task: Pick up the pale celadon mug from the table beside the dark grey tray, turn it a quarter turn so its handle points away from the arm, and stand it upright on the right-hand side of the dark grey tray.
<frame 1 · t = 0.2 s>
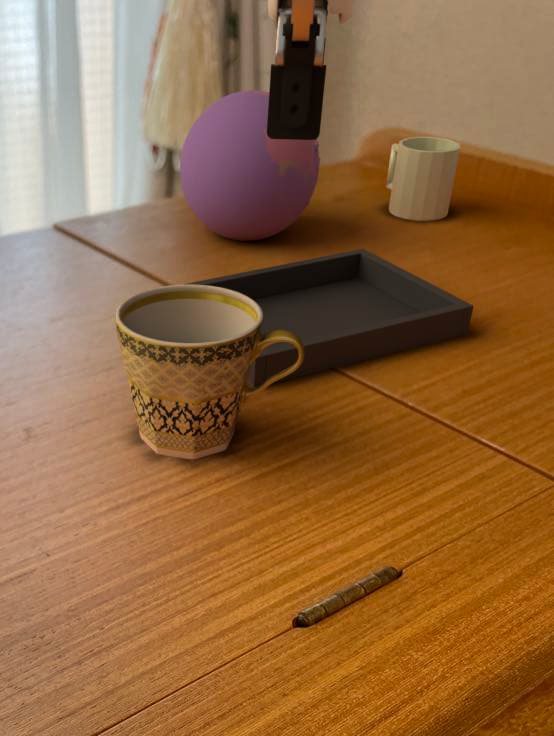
hand: (294, 119, 57), 20 cm above the table, tool pointing down, fingers open, 9 cm apart
dark grey tray: (312, 328, 80), on the table
ceramic cup: (206, 444, 64), on the table
decorative ball: (245, 238, 99), on the table
mug: (417, 215, 104), on the table
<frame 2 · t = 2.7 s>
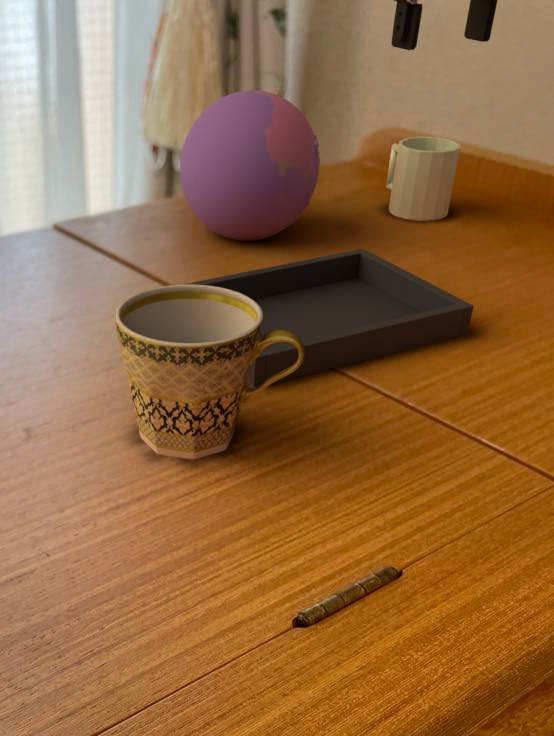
hand: (440, 43, 90), 18 cm above the table, tool pointing down, fingers open, 9 cm apart
nothing on the table moved.
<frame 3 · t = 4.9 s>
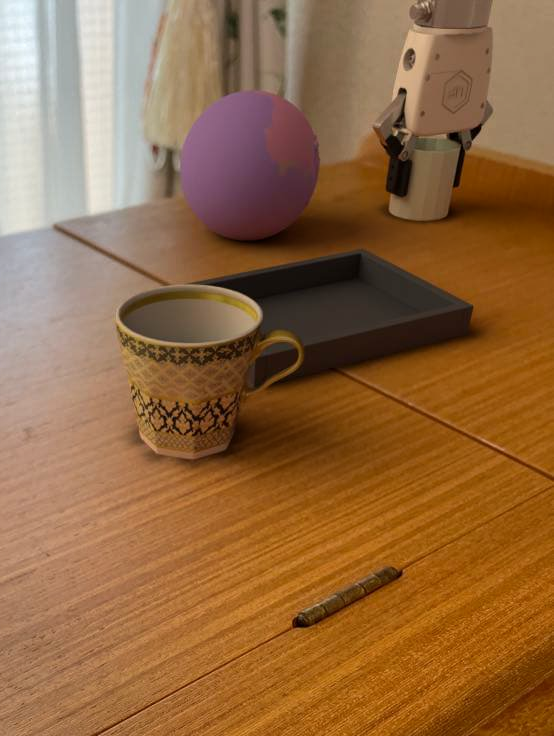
hand: (422, 188, 102), 3 cm above the table, tool pointing down, fingers closed on mug, 6 cm apart
mug: (417, 215, 104), on the table, touching gripper
everything else where it was.
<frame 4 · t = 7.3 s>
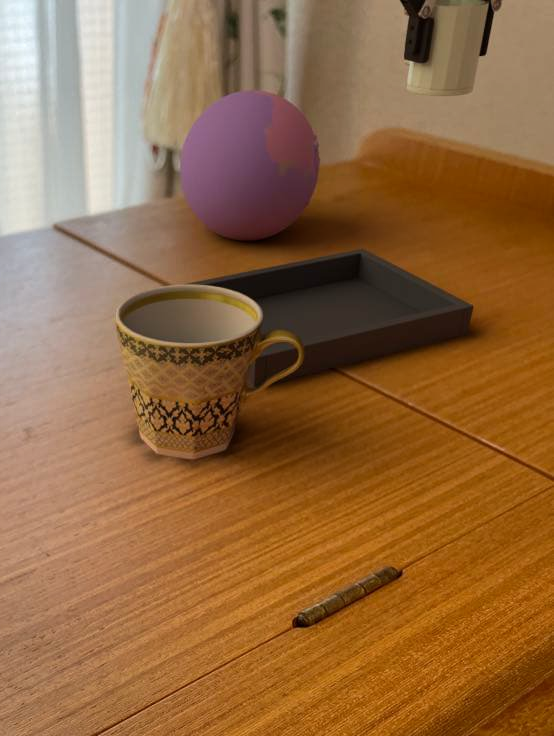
hand: (444, 56, 91), 17 cm above the table, tool pointing down, fingers closed on mug, 6 cm apart
mug: (439, 89, 93), point 14 cm above the table, touching gripper
everything else where it was.
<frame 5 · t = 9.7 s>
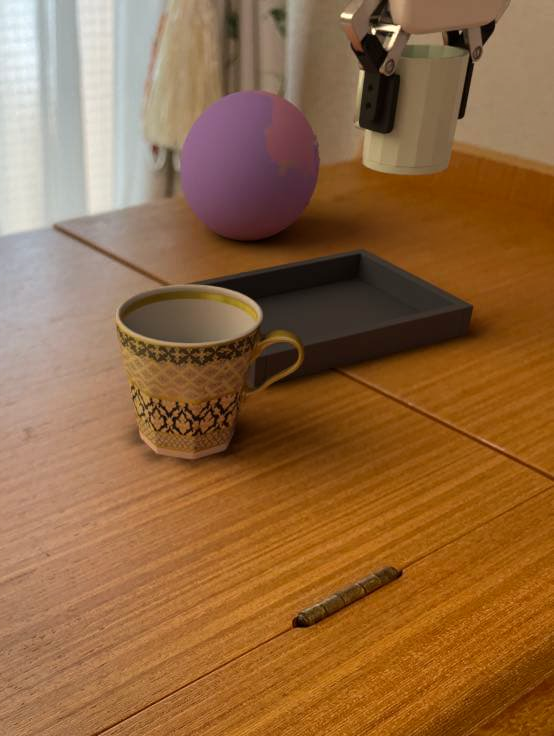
hand: (411, 121, 68), 18 cm above the table, tool pointing down, fingers closed on mug, 6 cm apart
mug: (404, 163, 70), point 14 cm above the table, touching gripper
everything else where it was.
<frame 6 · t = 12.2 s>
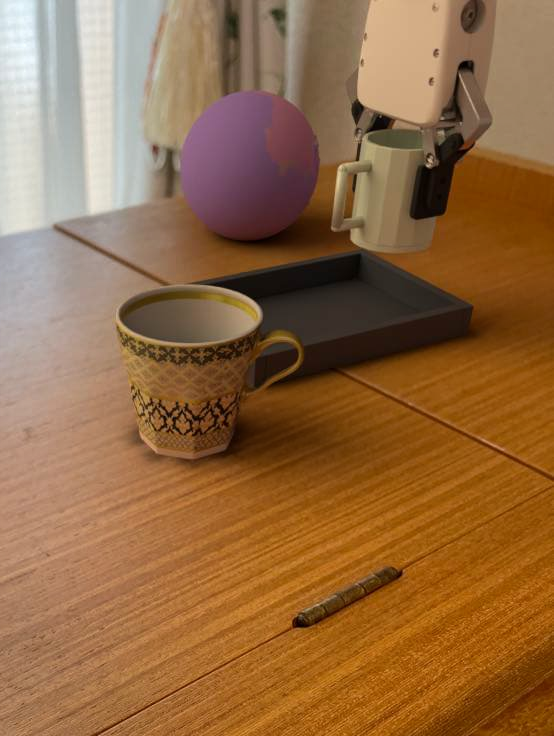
hand: (397, 201, 72), 11 cm above the table, tool pointing down, fingers closed on mug, 6 cm apart
mug: (390, 239, 74), point 8 cm above the table, touching gripper
everything else where it was.
when the fingers open (4 cm above the table, at t = 14.5 s): mug stays where it is, resting on dark grey tray.
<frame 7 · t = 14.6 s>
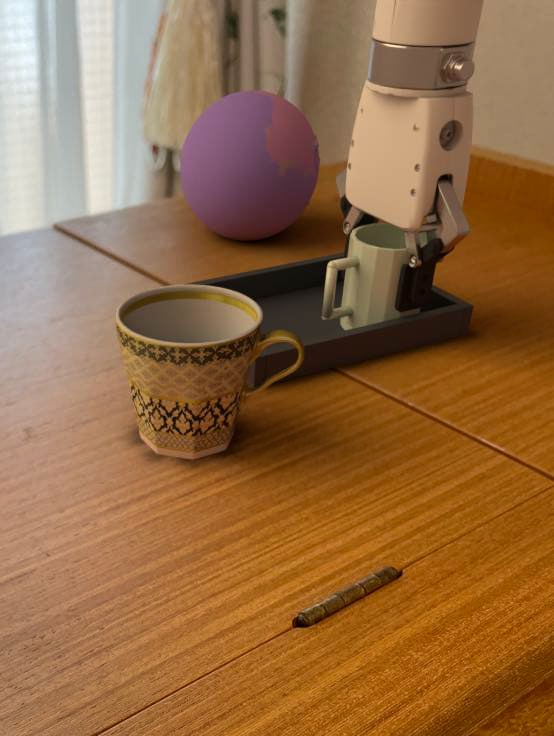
hand: (383, 291, 77), 4 cm above the table, tool pointing down, fingers open, 7 cm apart
mug: (378, 324, 79), point 1 cm above the table, touching dark grey tray
everything else where it was.
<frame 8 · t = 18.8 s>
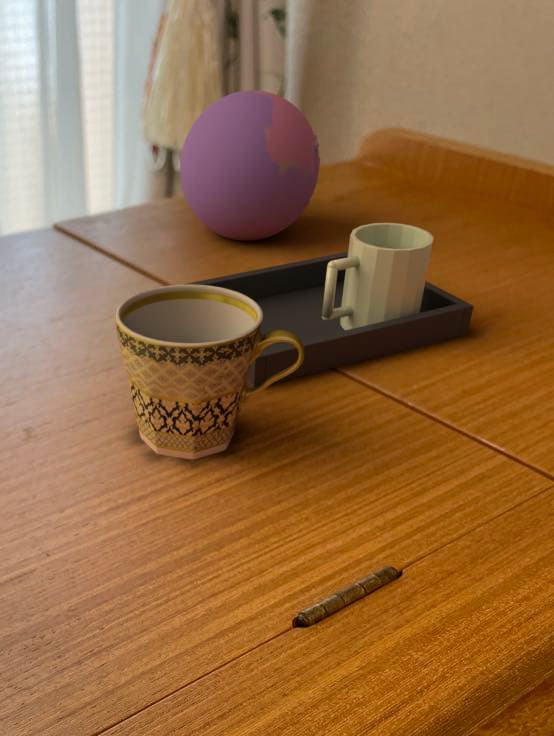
nothing on the table moved.
at the end: mug 1.0 cm from the target spot in the dark grey tray, point 0.6 cm above the dark grey tray's base; mug tilted 0°; the gripper is holding nothing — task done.
